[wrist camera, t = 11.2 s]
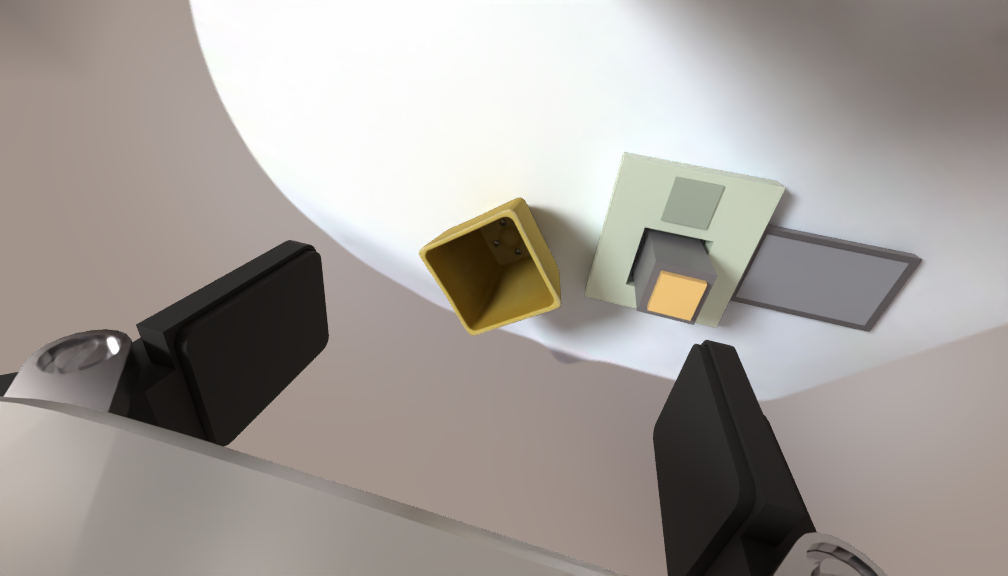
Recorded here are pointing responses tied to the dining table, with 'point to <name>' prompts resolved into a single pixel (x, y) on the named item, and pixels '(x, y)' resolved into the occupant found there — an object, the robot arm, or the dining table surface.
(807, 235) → the phone slab
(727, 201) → the outlet plate
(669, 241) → the block
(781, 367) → the dining table surface
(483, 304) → the flower pot
